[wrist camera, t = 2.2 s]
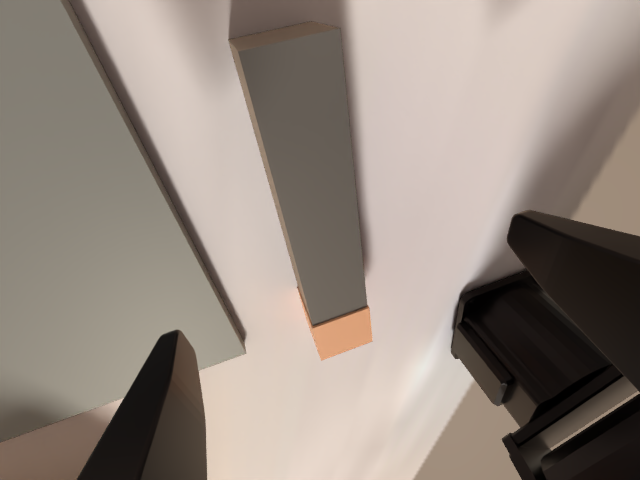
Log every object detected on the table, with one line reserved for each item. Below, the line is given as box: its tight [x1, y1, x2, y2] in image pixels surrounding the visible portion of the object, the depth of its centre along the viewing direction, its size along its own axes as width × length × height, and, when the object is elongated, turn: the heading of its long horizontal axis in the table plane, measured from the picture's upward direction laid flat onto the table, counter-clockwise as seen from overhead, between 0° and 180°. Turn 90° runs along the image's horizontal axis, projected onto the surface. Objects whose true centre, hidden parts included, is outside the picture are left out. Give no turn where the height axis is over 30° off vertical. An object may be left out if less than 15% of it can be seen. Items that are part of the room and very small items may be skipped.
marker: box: [228, 21, 372, 361], centre depth 12 cm, size 2×12×2 cm, turn 9°
